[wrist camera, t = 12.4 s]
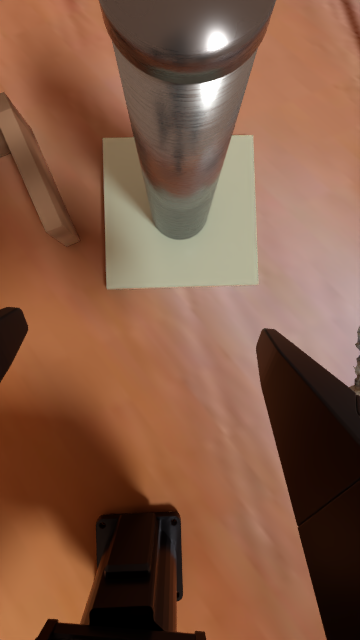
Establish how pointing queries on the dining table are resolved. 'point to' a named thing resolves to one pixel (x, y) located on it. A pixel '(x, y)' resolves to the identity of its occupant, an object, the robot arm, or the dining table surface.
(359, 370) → the driftwood
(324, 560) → the robot arm
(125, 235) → the tile
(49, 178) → the cubby
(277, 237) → the dining table surface
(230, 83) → the canister
